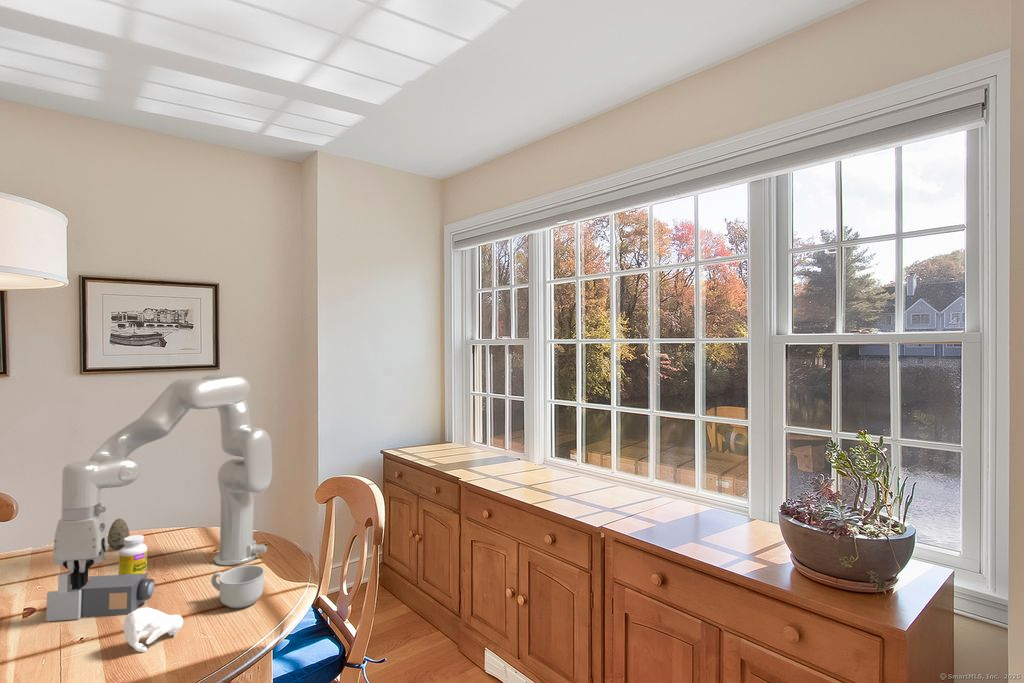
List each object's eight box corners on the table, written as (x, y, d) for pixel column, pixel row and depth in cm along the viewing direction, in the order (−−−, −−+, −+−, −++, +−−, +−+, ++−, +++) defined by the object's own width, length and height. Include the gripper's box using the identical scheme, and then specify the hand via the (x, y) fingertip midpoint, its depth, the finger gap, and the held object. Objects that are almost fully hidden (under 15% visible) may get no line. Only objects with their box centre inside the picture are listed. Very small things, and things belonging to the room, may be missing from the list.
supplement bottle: (132, 588, 151) (133, 542, 151) (112, 586, 152) (113, 540, 152) (152, 578, 157) (153, 534, 158) (133, 576, 159) (134, 532, 159)
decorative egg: (131, 548, 181) (132, 518, 181) (109, 553, 176) (110, 522, 176) (126, 544, 184) (127, 514, 185) (105, 549, 180) (105, 518, 180)
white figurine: (121, 608, 121) (179, 594, 131) (116, 648, 121) (174, 631, 130) (132, 617, 118) (191, 602, 127) (127, 658, 117) (186, 640, 127)
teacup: (272, 597, 147) (273, 568, 147) (240, 616, 136) (241, 584, 136) (233, 589, 151) (233, 561, 151) (199, 607, 141) (199, 576, 141)
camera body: (156, 599, 145) (157, 570, 145) (141, 613, 137) (142, 583, 137) (79, 603, 142) (80, 574, 142) (59, 618, 134) (60, 587, 134)
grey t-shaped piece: (81, 616, 135) (82, 572, 135) (77, 619, 133) (78, 574, 133) (49, 618, 133) (50, 573, 134) (45, 621, 132) (46, 576, 132)
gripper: (122, 506, 139) (120, 578, 139) (56, 509, 137) (55, 582, 136) (106, 515, 132) (104, 591, 131) (36, 518, 129) (34, 595, 129)
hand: (79, 586), depth 134 cm, fingers closed
